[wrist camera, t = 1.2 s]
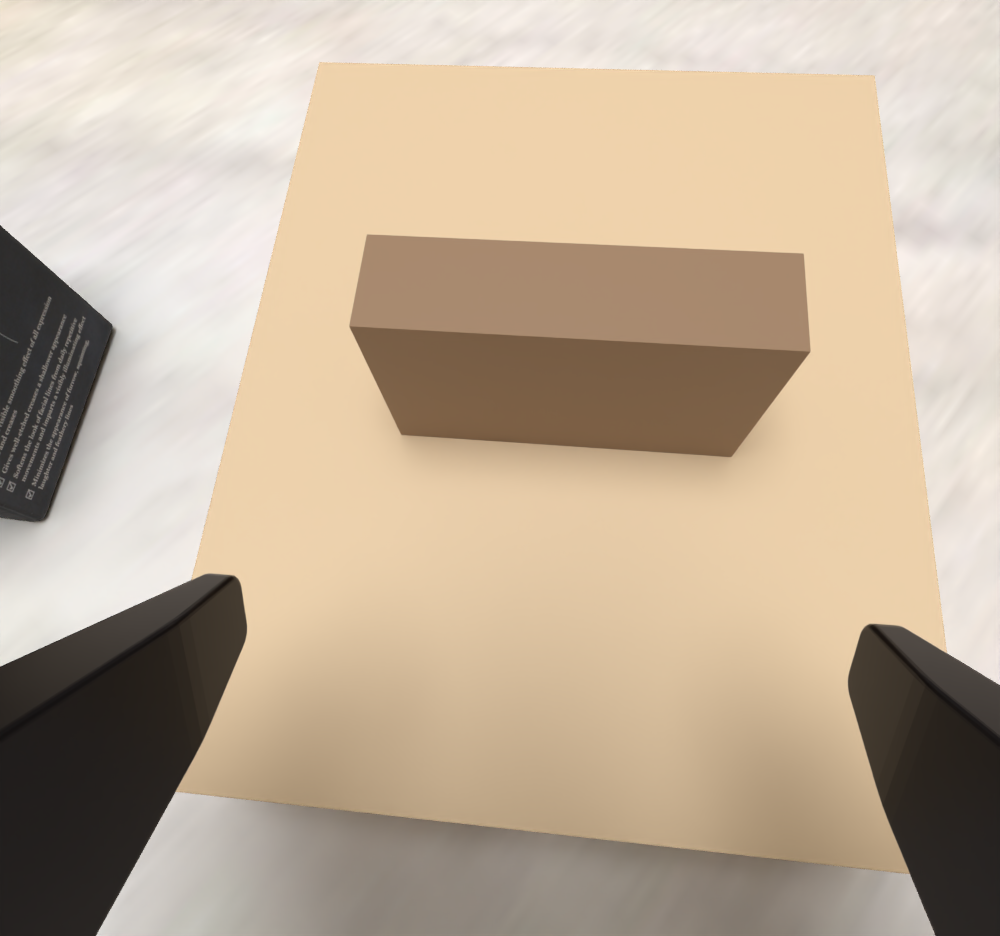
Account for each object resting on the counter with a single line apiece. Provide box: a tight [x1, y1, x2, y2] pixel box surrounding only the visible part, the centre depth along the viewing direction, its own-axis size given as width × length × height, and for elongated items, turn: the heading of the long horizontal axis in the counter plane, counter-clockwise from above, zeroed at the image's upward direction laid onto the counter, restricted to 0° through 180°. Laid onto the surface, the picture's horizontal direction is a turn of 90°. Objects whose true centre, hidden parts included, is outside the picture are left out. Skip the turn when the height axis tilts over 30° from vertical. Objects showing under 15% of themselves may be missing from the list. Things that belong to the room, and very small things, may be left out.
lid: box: [176, 62, 947, 874], centre depth 15 cm, size 21×17×6 cm
